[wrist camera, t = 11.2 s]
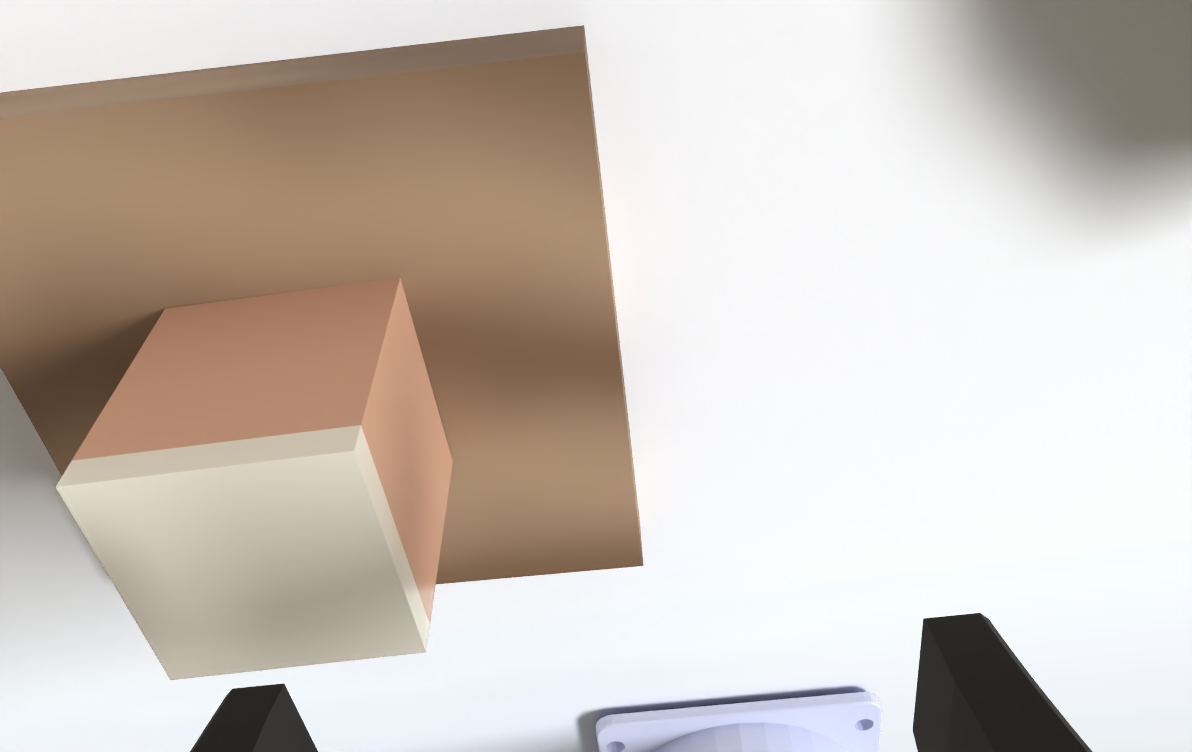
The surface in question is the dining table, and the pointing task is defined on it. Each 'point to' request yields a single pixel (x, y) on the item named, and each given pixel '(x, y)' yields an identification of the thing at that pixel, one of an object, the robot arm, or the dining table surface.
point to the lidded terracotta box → (271, 482)
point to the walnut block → (348, 257)
